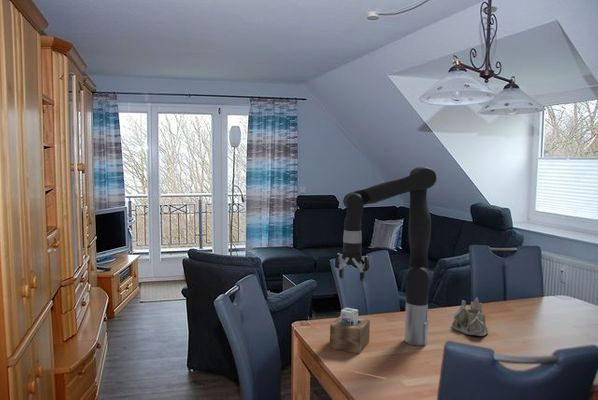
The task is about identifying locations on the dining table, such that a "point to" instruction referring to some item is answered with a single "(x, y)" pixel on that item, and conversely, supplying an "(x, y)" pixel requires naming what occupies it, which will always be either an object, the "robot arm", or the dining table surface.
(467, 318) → the ceramic cottage
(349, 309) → the syrup box
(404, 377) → the dining table surface
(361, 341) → the box
